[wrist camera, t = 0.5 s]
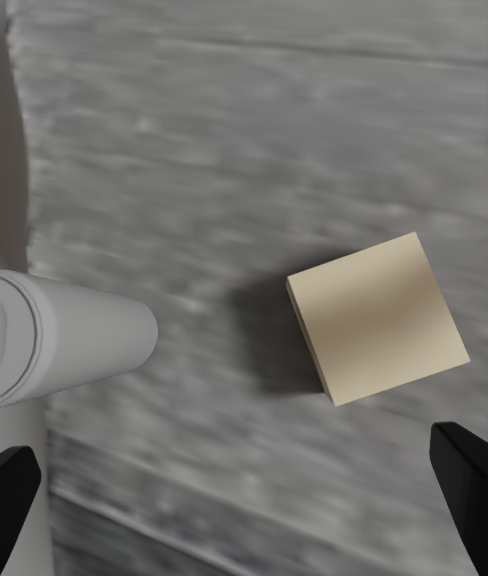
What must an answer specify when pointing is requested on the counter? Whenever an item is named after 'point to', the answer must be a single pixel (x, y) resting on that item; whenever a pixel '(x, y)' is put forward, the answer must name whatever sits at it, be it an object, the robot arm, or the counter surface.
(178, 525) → the counter surface
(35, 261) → the counter surface
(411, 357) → the maple block
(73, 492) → the counter surface
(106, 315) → the beverage can
